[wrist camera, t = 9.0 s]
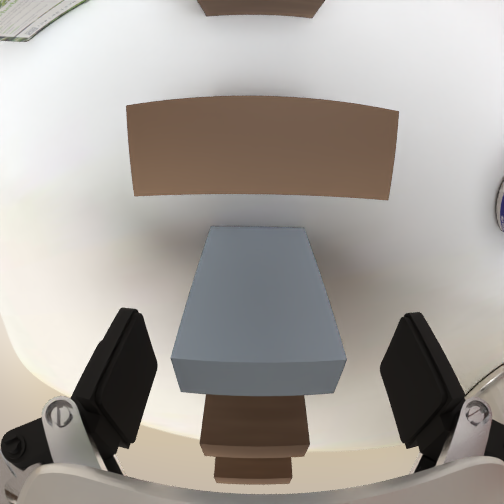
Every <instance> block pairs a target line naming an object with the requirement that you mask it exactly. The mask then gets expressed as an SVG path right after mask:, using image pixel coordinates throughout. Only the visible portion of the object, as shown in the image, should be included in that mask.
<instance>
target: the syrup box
mask: <svg viewBox="0 0 504 504" xmlns="http://www.w3.org/2000/svg"><path fill="white" fill-rule="evenodd" d="M85 1H86V0H0V41H18V42H26V41H28V40H29V39H30V38H32V37H33V36H34V35H36V34H37V33H38V32H39V31H41V30H42V29H43V28H45V27H46V26H47V25H49V24H50V23H52V22H53V21H54V20H56V19H57V18H59V17H60V16H62V15H63V14H65V13H66V12H68V11H70V10H71V9H73V8H74V7H76V6H78V5H79V4H81V3H83V2H85Z"/></svg>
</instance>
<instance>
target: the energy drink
mask: <svg viewBox="0 0 504 504" xmlns="http://www.w3.org/2000/svg"><path fill="white" fill-rule="evenodd" d="M496 214H497V220H498V224H499V227H500V228H501V230H502V231H503V232H504V181H503V183H502V185H501V187H500V190H499V193H498V198H497V204H496Z"/></svg>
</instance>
